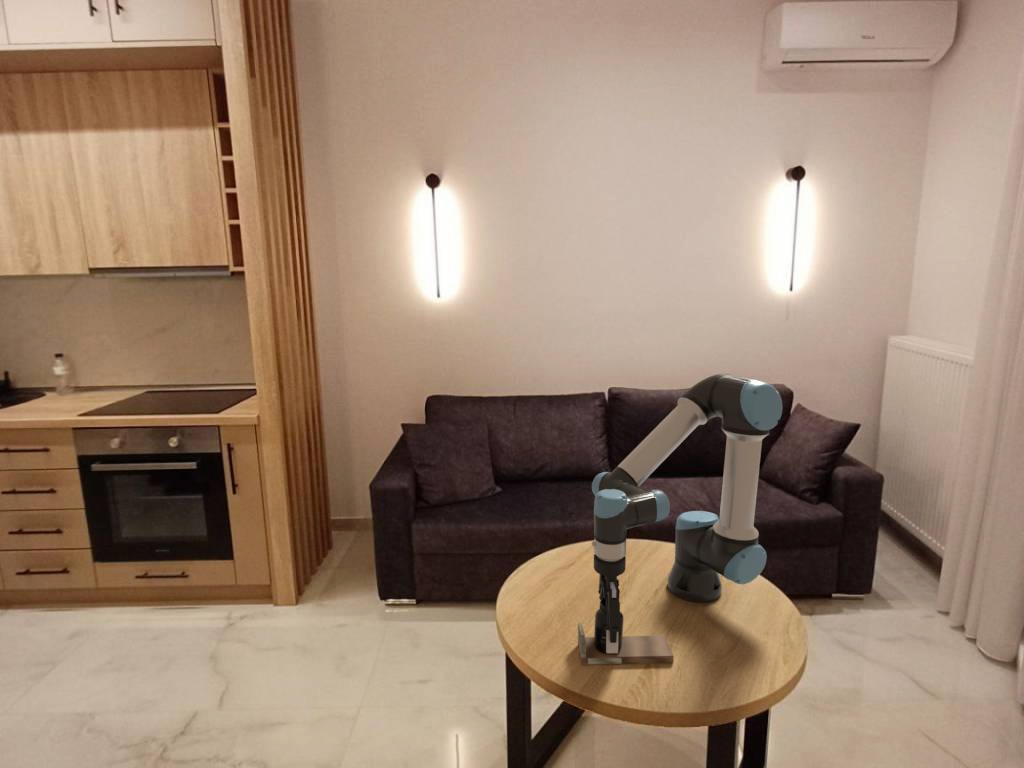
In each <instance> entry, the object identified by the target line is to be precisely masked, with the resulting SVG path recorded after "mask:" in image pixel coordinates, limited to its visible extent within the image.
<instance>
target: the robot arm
mask: <svg viewBox="0 0 1024 768" xmlns="http://www.w3.org/2000/svg"><path fill="white" fill-rule="evenodd" d="M782 414H783V400H782V397H781V394H780V392H779V391H778V390H777V389H776V387H774V385H772V384H770V383H768V382H764V381H762V380H758V379H754V378H748V377H742V376H737V375H732V374H729V373H718V374H714V375H711V376H708V377H705V378H704V379H702V380H700V381H698V382H697V383H696V384H694V385H693V386H692V387H690V388H688V389H687V391H686V392H684V393H683V394H682V395H681V396H680V397H679V398H678V400H677V406H676V407H674V408H673V409H672V411H671V412H670V413H668V415H667V416H665V418H664V419H663V420H662V421H661V422H659V424H658V425H657V426H656V427H655V428H654V429H653V430H652V431H651V432H650V433H649V434H648V435H647V436H646V437H645V438H644V439H643V440H642V441H641V442H639V444H638V445H637V446H636V447H635V448H634V449H633V450H632V451H631V452H630V453H629V454H628V455H627V456H626V457H625V458H624V459H623V460H622V461H621V462H620V463H619V464H618V466H616V467H615V468H614V469H613V470H612V472H608V471H603V472H601V473H598V474H596V475H595V477H594V479H593V481H592V483H591V490H592V493H593V496H594V501H593V502H594V505H593V528H594V529H593V534H594V535H593V538H594V541H591V546H593V553H594V554H593V570H594V571H595V572H596V573H597V574H599V580H598V592H597V593H598V594H599V597H598V598H599V600H600V601H601V599H603V598H605V599H606V608H607V624H608V626H607V627H605V630H606V653H618V632H620V630H621V628H620V612H621V604H620V605H619V602H620V592H621V590H620V588H619V586H620V581H619V580H620V579H618V577H619V576H620V575H623V574H624V573H625V572H626V566H627V565H626V561H627V559H626V555H627V530H628V529H633V528H636V527H641V526H645V525H651V524H655V523H657V522H660V521H663V520H666V519H667V518H668V516H669V515H670V511H671V508H670V506H671V504H670V500H669V498H668V496H667V494H666V493H665V492H664V491H662V490H661V489H649V490H643V489H642V488H640V486H641V485H642V484H643V483H644V482H645V481H646V479H648V478H649V477H650V475H652V473H654V472H655V470H656V469H658V468H659V466H660V465H661V464H662V463H663V462H664V461H665V460H666V459H667V458H668V457H669V456H670V455H671V454H672V453H673V452H674V451H675V450H676V449H677V448H678V447H679V446H680V445H681V443H683V442H684V440H686V438H688V436H689V435H690V434H691V433H692V432H693V431H694V430H696V428H697V427H698V426H700V425H702V426H703V425H705V424H707V422H708V421H709V420H711V419H712V418H716V417H718V418H721V419H722V420H721V430H722V432H723V433H724V434H725V435H726V442H725V443H726V445H725V454H724V464H723V477H722V488H721V497H720V507H719V510H720V511H719V516H718V515H717V514H716V513H713V512H710V511H704V510H692V511H685V512H682V513H680V514H679V515H678V516H677V518H676V524H675V527H674V528H675V535H674V536H675V541H674V545H675V546H674V550H675V551H674V563H673V565H672V567H671V570H670V572H669V573H668V574H669V575H668V578H667V588H668V590H669V591H670V592H671V594H673V595H675V597H678V598H680V599H683V600H686V601H687V602H688V601H689V602H695V603H707V602H708V603H709V602H712V601H715V600H717V599H718V598H719V597H721V595H722V588H723V587H722V581H721V578H720V576H722V577H724V578H725V579H726V580H728V581H731V582H733V583H734V584H737V585H746V584H749V583H752V581H755V579H757V577H759V575H761V573H762V572H763V570H764V568H765V566H766V564H767V552H766V550H765V548H763V546H762V545H761V544H759V536H760V535H759V534H760V533H759V531H758V529H757V528H756V526H754V523H755V513H756V506H757V505H756V503H757V494H758V486H759V485H758V484H759V473H760V463H761V455H762V453H761V452H762V445H763V440H764V438H766V437H767V436H769V435H770V430H772V429H773V428H775V427H776V426H777V425H778V423H779V422H778V421H780V419H781V417H782Z"/></svg>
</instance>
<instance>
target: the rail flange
mask: <svg viewBox="0 0 1024 768" xmlns="http://www.w3.org/2000/svg"><path fill="white" fill-rule="evenodd" d="M583 626H584V625H583V622H578V623H577V647H578V653H579V657H580V663H581V665H582V666H586V665H588V666H590V665H591V666H592V665H593V666H594V665H601V666H602V665H631V664H632V665H642V664H643V665H644V664H645V665H650V664H673V663H674V654H673V651H672V648H671V646H670V644H669V642H668V640H667V637H666V635H635V636H634V635H632V636H630V635H629V636H626V635H625V636H623V635H622V648H621V650H620V651H619V652H618V653H615V654H605V653H602V652H600V651H598V650H597V649H596V647H595V645H594V636H586V635H585V631H584V627H583Z"/></svg>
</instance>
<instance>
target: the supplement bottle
mask: <svg viewBox="0 0 1024 768" xmlns="http://www.w3.org/2000/svg"><path fill="white" fill-rule="evenodd" d="M619 605H620V606H621V602H620V601H619ZM607 626H608V624H607V608H606V599H605V598H603V599H601V600H600V601H599V608H598V609H597V610H596V611H595V615H594V635H593V637H594V645H595V647H596V649H597V650H598V651H600V652H602V653H605V654H615V653H606V630H605V627H607ZM620 628H621V630H620V632H618V652H619V651H620V650H621V648H622V636H623V633H624V615H623V613H622V612H621V611H620Z"/></svg>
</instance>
